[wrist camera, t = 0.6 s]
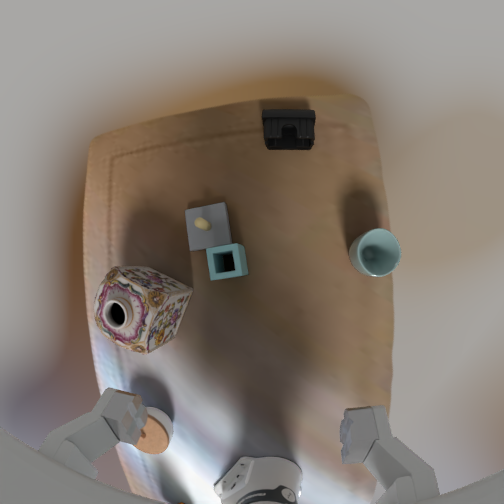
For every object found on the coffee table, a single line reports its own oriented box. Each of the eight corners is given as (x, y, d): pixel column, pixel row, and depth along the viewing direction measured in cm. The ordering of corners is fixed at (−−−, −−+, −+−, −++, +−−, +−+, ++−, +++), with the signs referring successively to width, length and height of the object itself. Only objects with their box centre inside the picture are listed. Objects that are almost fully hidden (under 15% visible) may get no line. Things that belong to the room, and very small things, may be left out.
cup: (337, 249, 54) (348, 246, 45) (368, 226, 54) (384, 218, 44) (359, 283, 54) (374, 286, 44) (389, 259, 53) (409, 257, 43)
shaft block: (232, 244, 57) (225, 241, 50) (193, 251, 58) (180, 249, 51) (226, 204, 57) (218, 195, 50) (188, 211, 58) (175, 205, 51)
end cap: (312, 120, 56) (314, 104, 50) (313, 150, 56) (316, 136, 49) (264, 120, 58) (262, 104, 51) (264, 149, 57) (261, 136, 50)
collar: (248, 274, 56) (242, 275, 48) (221, 278, 57) (210, 280, 49) (244, 246, 57) (237, 243, 49) (216, 251, 57) (205, 248, 49)
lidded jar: (130, 405, 58) (110, 422, 48) (164, 394, 57) (146, 412, 48) (153, 441, 57) (137, 461, 47) (188, 432, 56) (174, 454, 47)
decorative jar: (195, 288, 57) (158, 297, 39) (176, 339, 57) (134, 365, 39) (146, 264, 59) (96, 263, 41) (129, 313, 59) (78, 328, 41)
